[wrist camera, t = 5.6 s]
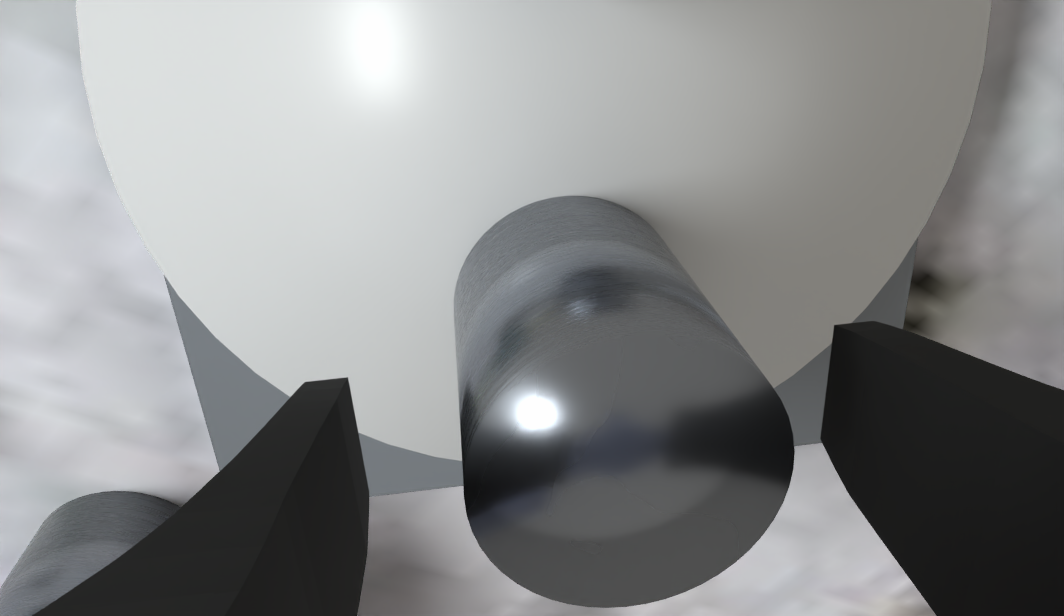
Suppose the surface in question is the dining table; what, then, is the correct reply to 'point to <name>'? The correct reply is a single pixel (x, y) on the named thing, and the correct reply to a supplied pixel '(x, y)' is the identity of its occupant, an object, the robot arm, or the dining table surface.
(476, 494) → the cylinder
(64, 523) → the cylinder
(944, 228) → the dining table surface
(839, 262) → the scale
